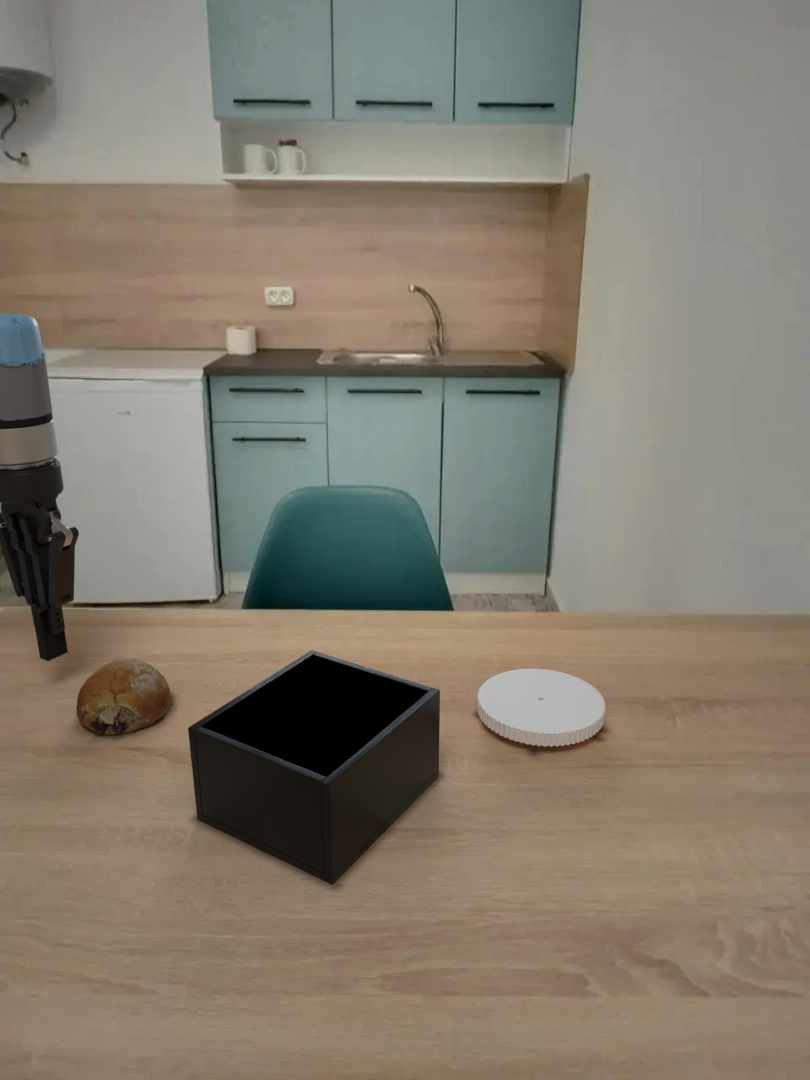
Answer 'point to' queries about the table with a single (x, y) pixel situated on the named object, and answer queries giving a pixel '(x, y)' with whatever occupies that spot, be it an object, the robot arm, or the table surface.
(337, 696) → the black storage bin
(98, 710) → the bread roll
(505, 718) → the plastic lid
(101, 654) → the table surface
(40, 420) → the robot arm
